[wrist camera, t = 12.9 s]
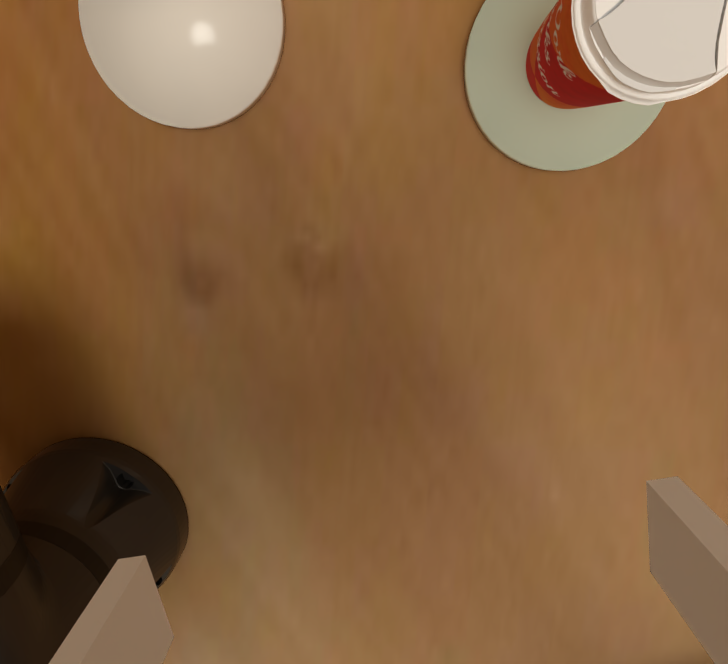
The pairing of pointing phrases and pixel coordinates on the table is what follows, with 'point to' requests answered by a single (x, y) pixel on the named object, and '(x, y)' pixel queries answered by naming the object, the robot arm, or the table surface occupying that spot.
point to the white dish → (185, 55)
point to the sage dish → (524, 109)
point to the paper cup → (627, 51)
